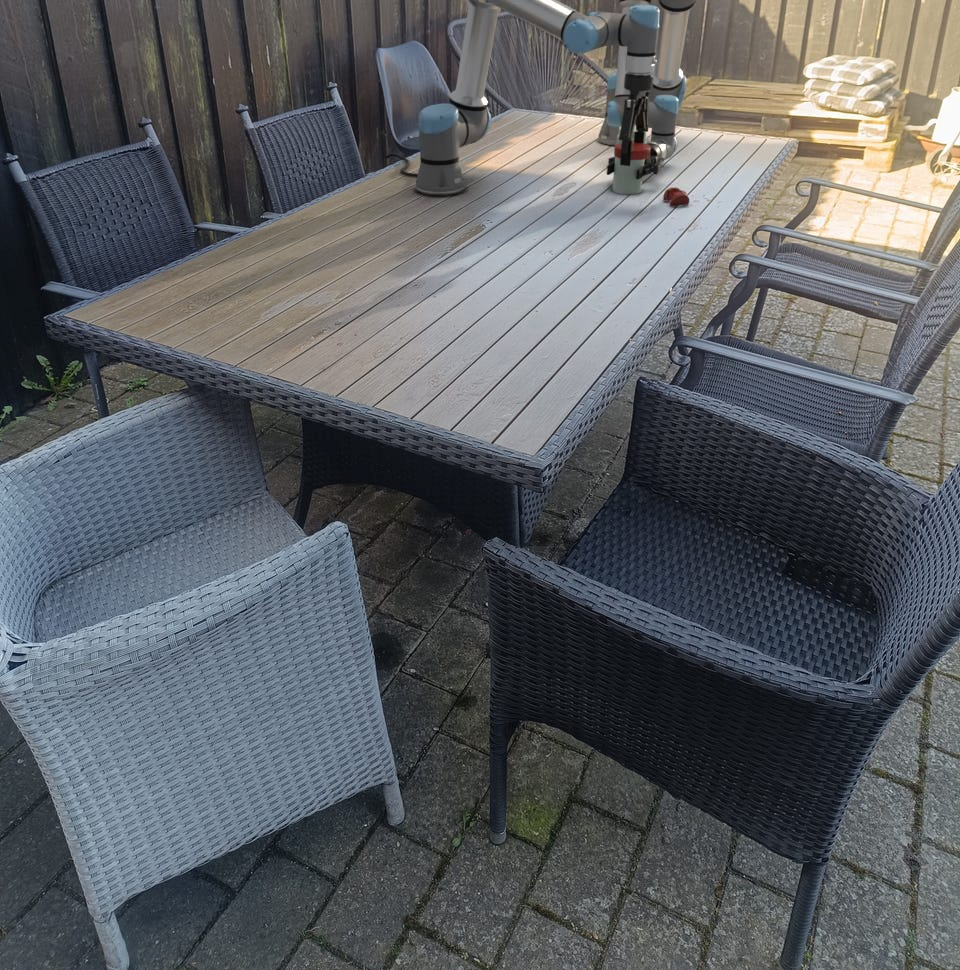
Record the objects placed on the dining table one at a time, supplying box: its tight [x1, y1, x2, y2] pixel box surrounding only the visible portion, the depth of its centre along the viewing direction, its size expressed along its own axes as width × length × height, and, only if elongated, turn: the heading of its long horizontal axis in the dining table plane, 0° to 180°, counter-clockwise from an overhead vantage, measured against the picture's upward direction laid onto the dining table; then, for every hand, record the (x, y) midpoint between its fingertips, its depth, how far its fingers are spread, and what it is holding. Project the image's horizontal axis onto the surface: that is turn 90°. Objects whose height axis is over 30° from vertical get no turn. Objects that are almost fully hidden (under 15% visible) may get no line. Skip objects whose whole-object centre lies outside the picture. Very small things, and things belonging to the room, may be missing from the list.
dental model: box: [662, 187, 690, 207], centre depth 246 cm, size 6×4×8 cm
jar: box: [611, 125, 648, 195], centre depth 253 cm, size 9×9×18 cm
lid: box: [613, 142, 651, 160], centre depth 234 cm, size 10×10×2 cm
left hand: (631, 160), depth 235 cm, fingers closed on lid, 10 cm apart
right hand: (622, 172), depth 251 cm, fingers closed on jar, 9 cm apart
